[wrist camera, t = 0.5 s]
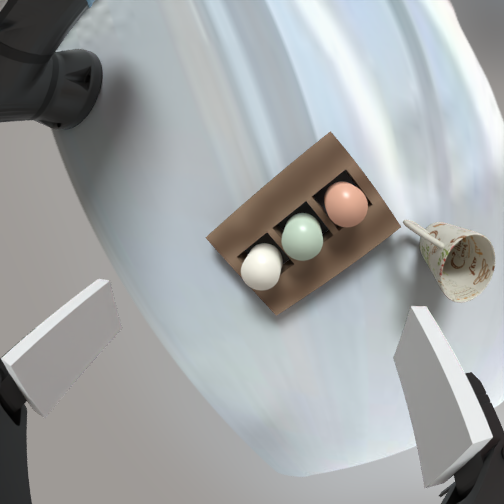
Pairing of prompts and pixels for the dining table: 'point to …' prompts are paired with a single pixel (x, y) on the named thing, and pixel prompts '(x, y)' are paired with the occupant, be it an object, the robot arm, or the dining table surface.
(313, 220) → the button sage
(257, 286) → the button cream
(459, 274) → the mug
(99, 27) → the dining table surface
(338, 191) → the button terracotta
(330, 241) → the button panel
